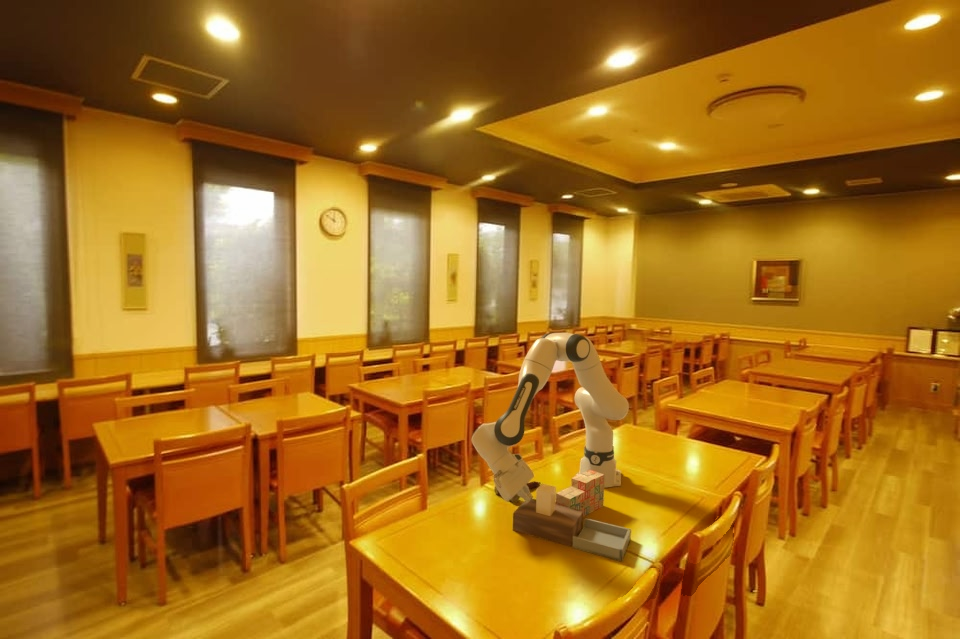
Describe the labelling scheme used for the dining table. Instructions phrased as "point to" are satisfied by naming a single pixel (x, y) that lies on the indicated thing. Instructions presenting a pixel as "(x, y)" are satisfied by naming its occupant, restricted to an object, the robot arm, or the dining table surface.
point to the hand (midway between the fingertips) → (530, 500)
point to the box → (603, 539)
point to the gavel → (516, 497)
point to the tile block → (545, 499)
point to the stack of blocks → (583, 492)
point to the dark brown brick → (548, 523)
